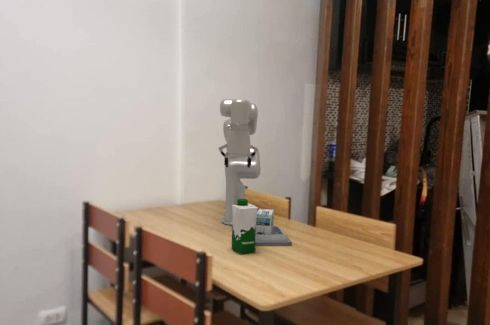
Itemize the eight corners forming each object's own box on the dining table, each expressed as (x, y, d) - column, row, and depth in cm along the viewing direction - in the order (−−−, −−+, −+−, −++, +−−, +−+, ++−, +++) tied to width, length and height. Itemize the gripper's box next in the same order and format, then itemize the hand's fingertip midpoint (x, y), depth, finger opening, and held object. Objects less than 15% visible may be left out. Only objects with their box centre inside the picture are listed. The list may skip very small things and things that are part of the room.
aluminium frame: (245, 231, 193) (245, 225, 193) (278, 231, 196) (279, 225, 195) (250, 241, 178) (250, 235, 178) (286, 241, 180) (287, 235, 180)
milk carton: (247, 246, 177) (249, 197, 174) (258, 252, 169) (260, 202, 166) (228, 248, 173) (230, 199, 170) (238, 255, 165) (240, 203, 162)
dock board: (240, 233, 195) (240, 230, 195) (281, 233, 198) (281, 229, 198) (246, 246, 176) (246, 242, 176) (291, 245, 179) (292, 242, 179)
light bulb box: (271, 239, 181) (272, 214, 180) (255, 238, 182) (256, 213, 181) (273, 233, 192) (274, 209, 191) (258, 232, 193) (259, 208, 192)
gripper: (219, 127, 184) (218, 167, 186) (260, 129, 187) (258, 168, 189) (218, 127, 191) (217, 165, 193) (257, 128, 194) (255, 166, 196)
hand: (237, 167), depth 191 cm, fingers open, 9 cm apart
